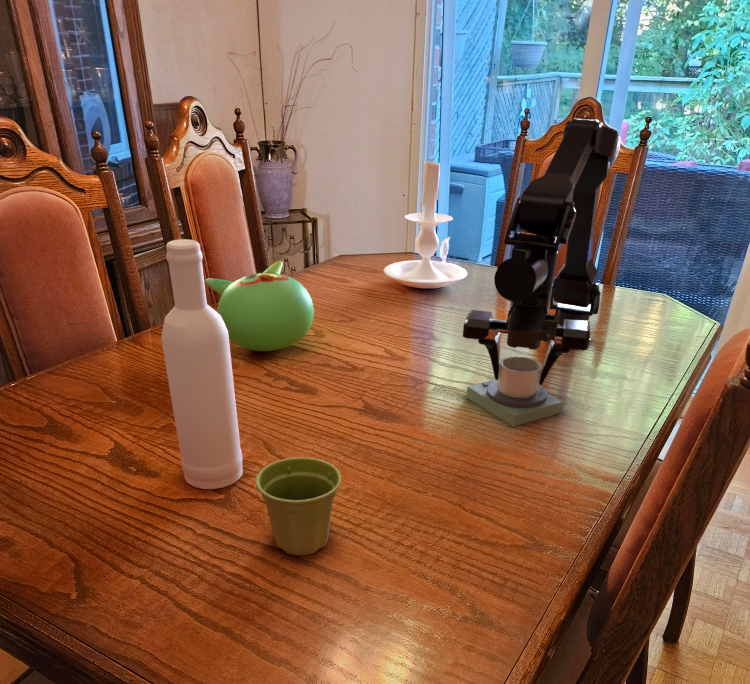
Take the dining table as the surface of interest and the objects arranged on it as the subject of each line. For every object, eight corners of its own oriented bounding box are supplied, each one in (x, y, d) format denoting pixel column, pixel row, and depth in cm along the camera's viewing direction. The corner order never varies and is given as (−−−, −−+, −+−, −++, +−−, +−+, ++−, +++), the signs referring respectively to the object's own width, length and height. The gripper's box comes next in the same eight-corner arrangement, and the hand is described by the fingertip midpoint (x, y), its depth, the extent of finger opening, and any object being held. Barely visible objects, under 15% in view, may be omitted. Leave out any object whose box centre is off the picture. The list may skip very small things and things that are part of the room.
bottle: (176, 467, 91) (137, 238, 74) (232, 454, 94) (206, 231, 78) (194, 496, 85) (155, 254, 69) (252, 481, 89) (229, 247, 72)
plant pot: (263, 518, 82) (258, 457, 77) (340, 516, 82) (339, 455, 77) (259, 567, 74) (252, 502, 69) (343, 564, 75) (343, 500, 70)
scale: (466, 397, 111) (467, 382, 110) (511, 385, 116) (514, 370, 114) (513, 426, 103) (515, 410, 101) (560, 412, 107) (563, 397, 106)
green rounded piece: (241, 370, 119) (232, 288, 111) (207, 340, 131) (198, 264, 122) (329, 352, 127) (327, 274, 119) (290, 325, 139) (286, 253, 131)
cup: (488, 387, 108) (491, 360, 106) (519, 379, 111) (522, 353, 109) (515, 402, 104) (519, 375, 101) (546, 393, 107) (551, 367, 104)
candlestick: (483, 276, 173) (496, 155, 157) (447, 301, 154) (458, 168, 139) (411, 265, 180) (416, 149, 165) (369, 288, 162) (370, 160, 146)
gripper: (462, 293, 93) (453, 395, 102) (600, 305, 90) (578, 410, 98) (472, 272, 102) (463, 367, 111) (597, 283, 99) (577, 380, 107)
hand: (518, 381), depth 107 cm, fingers closed on cup, 7 cm apart
